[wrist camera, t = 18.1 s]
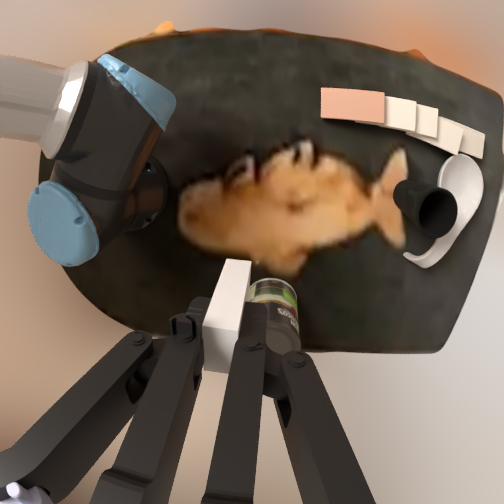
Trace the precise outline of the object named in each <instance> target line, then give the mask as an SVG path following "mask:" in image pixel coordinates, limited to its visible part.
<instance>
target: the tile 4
mask: <svg viewBox="0 0 504 504" xmlns="http://www.w3.org/2000/svg"><path fill="white" fill-rule="evenodd" d="M443 120H445V121H447V122H449V123H452V124H454V125H456V126H458V127H460V128H462V129H464V130H463V134H462V139H461V143H460V147H459V151H460V152H462V153H465V154H468V155H471V156H473V157H476V158H479V159H482V157H483V148H484V138H485V134H483V133H481V132H478V131H476V130H474V129H471V128H469V127H466V126H464V125H461V124H459V123H456V122H454V121H451V120H448V119H443Z"/></svg>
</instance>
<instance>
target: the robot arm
mask: <svg viewBox="0 0 504 504" xmlns="http://www.w3.org/2000/svg"><path fill="white" fill-rule="evenodd" d="M175 107H176V99H175V96H174V95H173V94H172V93H171V92H170V91H169V90H167V89H166V88H164V87H163V86H161V85H160V84H158V83H157V82H155V81H153V80H152V79H150V78H149V77H147V76H145V75H144V74H142V73H140V72H139V71H137V70H135V69H133V68H131V67H130V66H128V65H126V64H125V63H123V62H121V61H120V60H118V59H116V58H114V57H112V56H110V55H108V54H104V55H103V56H102V57H101V58H99V59H98V61H97V63H93V62H90V61H87V60H81V61H79V62H77V63H75V64H73V65H71V66H69V67H67V68H62V67H58V66H55V65H50V64H47V63H43V62H38V61H34V60H29V59H25V58H21V57H16V56H10V55H5V54H0V138H8V139H16V140H22V141H29V142H35V143H38V144H39V145H40V147H41V148H42V150H43V152H44V154H45V156H46V157H47V158H48V159H54V160H56V162H55V165H54V168H53V171H52V175H51V178H50V180H49V181H44V182H42V183H41V184H40V185H39V186H38V187H36V188H35V189H34V190H33V192H32V194H31V196H30V198H29V202H28V221H29V225H30V228H31V232H32V233H33V235H34V238H35V240H36V242H37V243H38V245H39V246H40V248H41V249H42V251H43V252H44V253H45V254H46V255H47V256H48V257H49V258H51V259H52V260H53V261H55V262H57V263H59V264H61V265H64V266H69V267H71V266H78V265H81V264H82V263H84V262H86V261H87V260H89V259H92V258H93V257H94V256H95V255H96V254H97V253H98V252H99V251H100V250H102V249H103V248H104V247H105V246H106V245H108V244H109V243H110V242H111V241H113V240H114V239H115V238H116V237H118V236H119V235H120V234H122V233H123V232H124V231H135V230H139V229H142V228H145V227H146V226H148V225H150V224H151V223H152V222H153V221H155V220H156V219H157V218H158V217H159V216H160V214H161V213H162V211H163V209H164V207H165V205H166V201H167V197H168V184H167V179H166V175H165V173H164V171H163V169H162V167H161V165H160V164H159V163H158V161H157V160H156V159H155V158H154V157H153V156H151V153H152V151H153V149H154V147H155V145H156V143H157V141H158V139H159V138H160V136H161V134H162V132H165V130H166V125H167V123H168V121H169V119H170V117H171V115H172V113H173V111H174V110H175ZM250 273H251V261H244V260H234V259H226V262H225V265H224V267H223V270H222V273H221V275H220V278H219V281H218V283H217V286H216V289H215V291H214V294H213V297H212V298H207V297H199V296H197V297H196V298H195V299H194V300H192V301H191V303H190V305H189V308H188V309H187V312H186V313H181V314H176V315H174V316H172V317H171V318H170V319H169V328H170V337H167V338H162V339H152V337H151V335H150V334H149V333H147V332H145V331H133V332H130V333H129V334H127V335H126V336H125V337H124V338H123V339H121V340H120V341H119V342H118V343H117V344H116V345H115V346H114V347H113V348H112V349H111V350H110V351H109V352H108V353H107V354H106V355H105V356H103V357H102V359H100V360H99V362H97V363H96V364H95V365H94V366H93V367H92V368H91V369H90V370H89V371H88V372H87V373H86V374H85V375H84V376H83V377H82V378H81V379H80V380H78V382H76V383H75V384H74V385H73V386H72V387H71V388H70V389H69V390H68V391H67V392H66V393H65V394H64V395H63V396H62V397H61V398H60V399H59V400H58V401H57V402H56V403H55V404H54V405H53V406H52V407H51V408H50V409H49V410H48V411H47V412H46V413H45V414H44V415H43V416H42V417H41V418H40V419H39V420H38V421H37V422H36V423H35V424H34V425H33V426H32V427H31V428H30V429H29V430H28V431H27V432H26V433H25V434H24V435H23V436H22V437H21V438H20V439H19V440H18V441H17V442H16V443H15V445H13V446H12V447H11V448H9V449H6V450H4V451H2V452H0V504H57V503H59V502H60V501H61V500H63V499H64V498H65V497H67V496H68V495H69V494H70V493H71V491H72V490H73V489H74V488H75V487H76V486H77V485H78V483H79V482H80V481H81V480H82V478H83V477H84V476H85V475H86V473H87V472H88V471H89V470H90V469H91V467H92V466H93V465H94V464H95V462H96V461H97V460H98V459H99V457H100V456H101V455H102V454H103V452H104V451H105V450H106V449H107V448H108V446H109V445H110V444H111V442H112V441H113V440H114V439H115V438H116V436H117V435H118V434H119V433H120V431H121V430H122V429H123V427H124V426H125V425H126V424H127V423H128V421H129V420H130V419H131V418H132V416H133V415H134V416H133V419H132V421H131V423H130V426H129V428H128V431H127V433H126V435H125V438H124V440H123V443H122V445H121V447H120V450H119V453H118V455H117V457H116V460H115V462H114V464H113V466H112V468H111V469H108V470H105V471H104V472H103V473H102V474H101V476H100V478H99V480H98V483H97V485H96V488H95V490H94V493H93V495H92V498H91V501H90V503H89V504H168V501H169V497H170V493H171V489H172V485H173V482H174V478H175V474H176V470H177V467H178V463H179V459H180V456H181V452H182V448H183V444H184V441H185V437H186V433H187V429H188V426H189V422H190V419H191V415H192V412H193V408H194V404H195V401H196V397H197V394H198V390H199V386H200V383H201V379H202V367H203V364H204V370H207V371H213V372H220V373H228V374H229V376H228V381H227V386H226V391H225V396H224V401H223V406H222V411H221V416H220V421H219V426H218V431H217V436H216V441H215V446H214V451H213V456H212V460H211V466H210V470H209V475H208V480H207V485H206V490H205V494H204V496H203V497H202V500H201V504H253V495H254V485H255V474H256V463H257V453H258V441H259V430H260V417H261V406H262V395H266V396H268V397H271V398H274V404H275V408H276V411H277V415H278V418H279V422H280V426H281V429H282V432H283V436H284V440H285V443H286V447H287V450H288V454H289V457H290V461H291V464H292V467H293V471H294V475H295V478H296V481H297V485H298V488H299V491H300V495H301V498H302V502H303V504H376V503H375V501H374V498H373V496H372V494H371V491H370V489H369V487H368V485H367V482H366V480H365V478H364V475H363V473H362V470H361V468H360V466H359V464H358V461H357V459H356V457H355V454H354V452H353V450H352V448H351V445H350V443H349V441H348V438H347V436H346V434H345V432H344V429H343V427H342V425H341V423H340V420H339V418H338V416H337V413H336V411H335V409H334V407H333V405H332V402H331V400H330V398H329V396H328V393H327V391H326V389H325V387H324V384H323V382H322V380H321V378H320V375H319V373H318V371H317V369H316V366H315V365H314V362H313V360H312V358H311V357H310V356H309V355H308V354H306V353H305V352H302V351H294V350H293V351H289V352H287V353H285V354H284V355H281V354H278V353H276V352H274V351H272V350H271V349H270V348H269V347H268V346H267V344H266V328H267V312H268V309H267V307H266V306H265V304H264V303H257V302H248V298H249V285H250Z"/></svg>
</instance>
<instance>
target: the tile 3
mask: <svg viewBox="0 0 504 504" xmlns="http://www.w3.org/2000/svg"><path fill="white" fill-rule="evenodd" d="M463 130H464V129H462V128H460V127H458V126H456V125H454V124H452V123H449V122H447V121H445V120H443V119H441V118H438V122H437V137H436V138H433V137H429V136H424V135H420V134H415V133H411V132H406V133H405V134H407V135H409V136H412V137H415V138H417V139H420V140H422V141H424V142H427V143H429V144H431V145H434V146H436V147H438V148H441V149H443V150H445V151H447V152H449V153H451V154H454V155H457V154H458V151H459V147H460V143H461V139H462V134H463Z"/></svg>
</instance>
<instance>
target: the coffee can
mask: <svg viewBox="0 0 504 504" xmlns="http://www.w3.org/2000/svg"><path fill="white" fill-rule="evenodd" d="M248 302H257V303H264V304H265V306H266V307H267V309H268V312H267V328H266V344H267V346H268V347H269V348H270V349H271V350H272V351H274V352H276V353H278V354H281V355H284V354H285V353H287V352H289V351H293V350H294V351H301V341H300V336H299V324H298V313H297V296H296V293H295V291H294V289H293V288H292V287H291V286H290V285H289V284H288V283H287V282H285V281H283V280H281V279H277V278H265V279H261V280H258V281H256V282H255V283H253V284H252V285H251V286H250V287H249V298H248Z"/></svg>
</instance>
